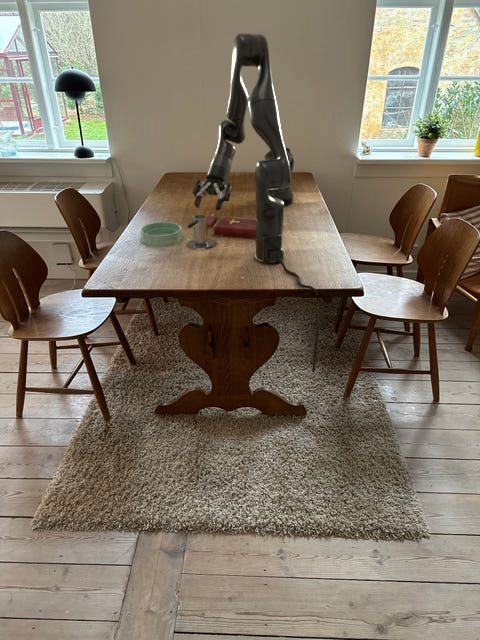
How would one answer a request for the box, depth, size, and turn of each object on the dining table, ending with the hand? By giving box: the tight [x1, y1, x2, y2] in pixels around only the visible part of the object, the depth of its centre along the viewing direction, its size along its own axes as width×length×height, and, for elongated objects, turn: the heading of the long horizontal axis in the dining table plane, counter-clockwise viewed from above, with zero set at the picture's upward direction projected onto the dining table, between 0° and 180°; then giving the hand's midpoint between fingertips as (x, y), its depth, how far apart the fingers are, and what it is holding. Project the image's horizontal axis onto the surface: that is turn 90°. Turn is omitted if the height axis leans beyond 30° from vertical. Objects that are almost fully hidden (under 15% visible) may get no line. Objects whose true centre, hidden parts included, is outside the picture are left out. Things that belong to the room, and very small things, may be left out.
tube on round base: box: [187, 214, 209, 245], centre depth 165 cm, size 11×5×10 cm, turn 156°
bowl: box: [140, 221, 183, 247], centre depth 173 cm, size 15×15×4 cm
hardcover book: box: [212, 215, 256, 240], centre depth 179 cm, size 12×21×4 cm, turn 76°
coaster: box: [187, 238, 216, 250], centre depth 170 cm, size 10×10×1 cm
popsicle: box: [206, 213, 217, 228], centre depth 191 cm, size 4×2×15 cm
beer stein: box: [264, 146, 295, 207], centre depth 210 cm, size 16×19×25 cm
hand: (206, 208), depth 168 cm, fingers open, 8 cm apart
